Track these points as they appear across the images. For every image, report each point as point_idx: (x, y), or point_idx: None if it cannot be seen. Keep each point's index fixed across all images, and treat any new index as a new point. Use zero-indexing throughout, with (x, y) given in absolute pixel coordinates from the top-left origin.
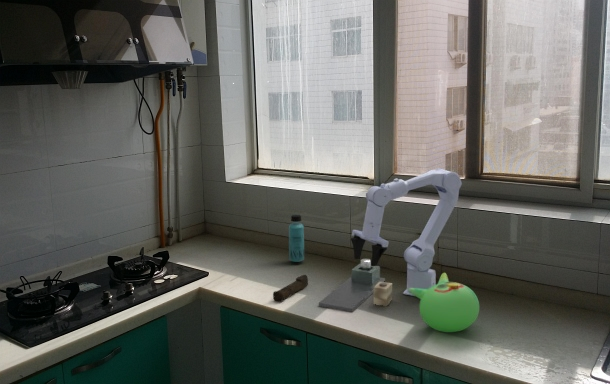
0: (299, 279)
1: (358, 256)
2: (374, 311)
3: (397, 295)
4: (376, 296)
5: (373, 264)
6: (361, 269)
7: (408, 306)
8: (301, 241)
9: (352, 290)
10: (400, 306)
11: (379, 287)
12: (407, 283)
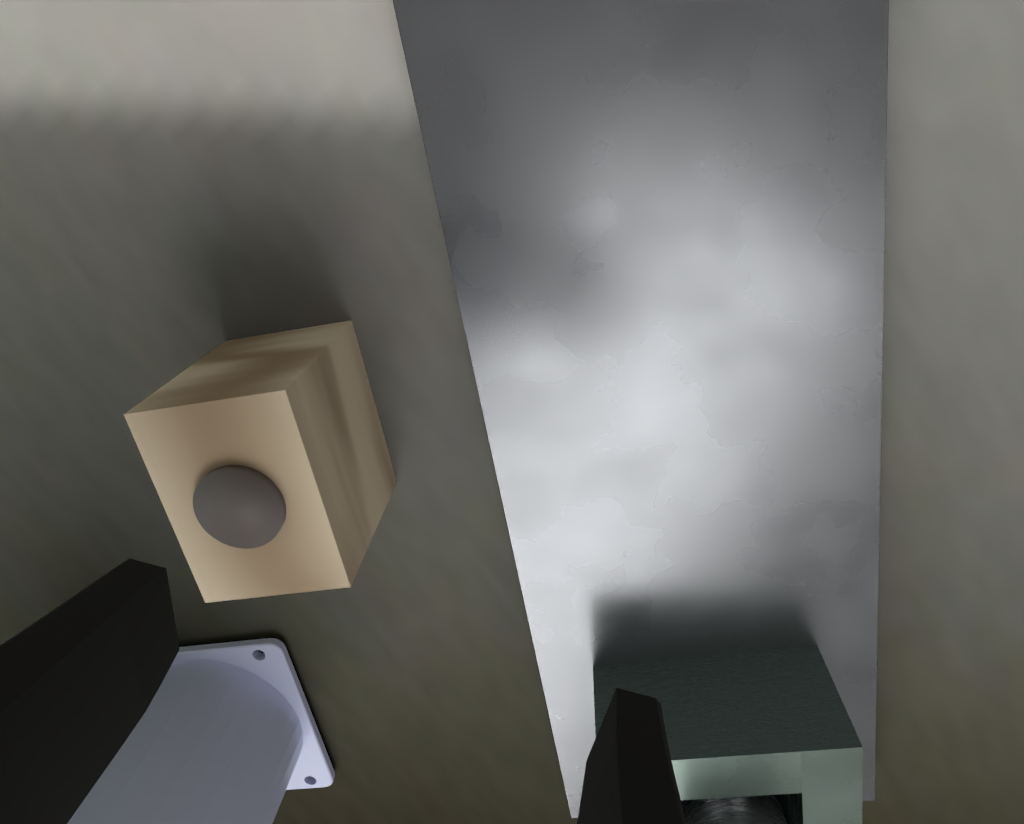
0: None
1: (592, 786)
2: (228, 158)
3: (309, 600)
4: (290, 355)
5: (97, 592)
6: (764, 805)
7: (82, 446)
8: None
9: (686, 455)
10: None
11: (225, 423)
12: (242, 744)
